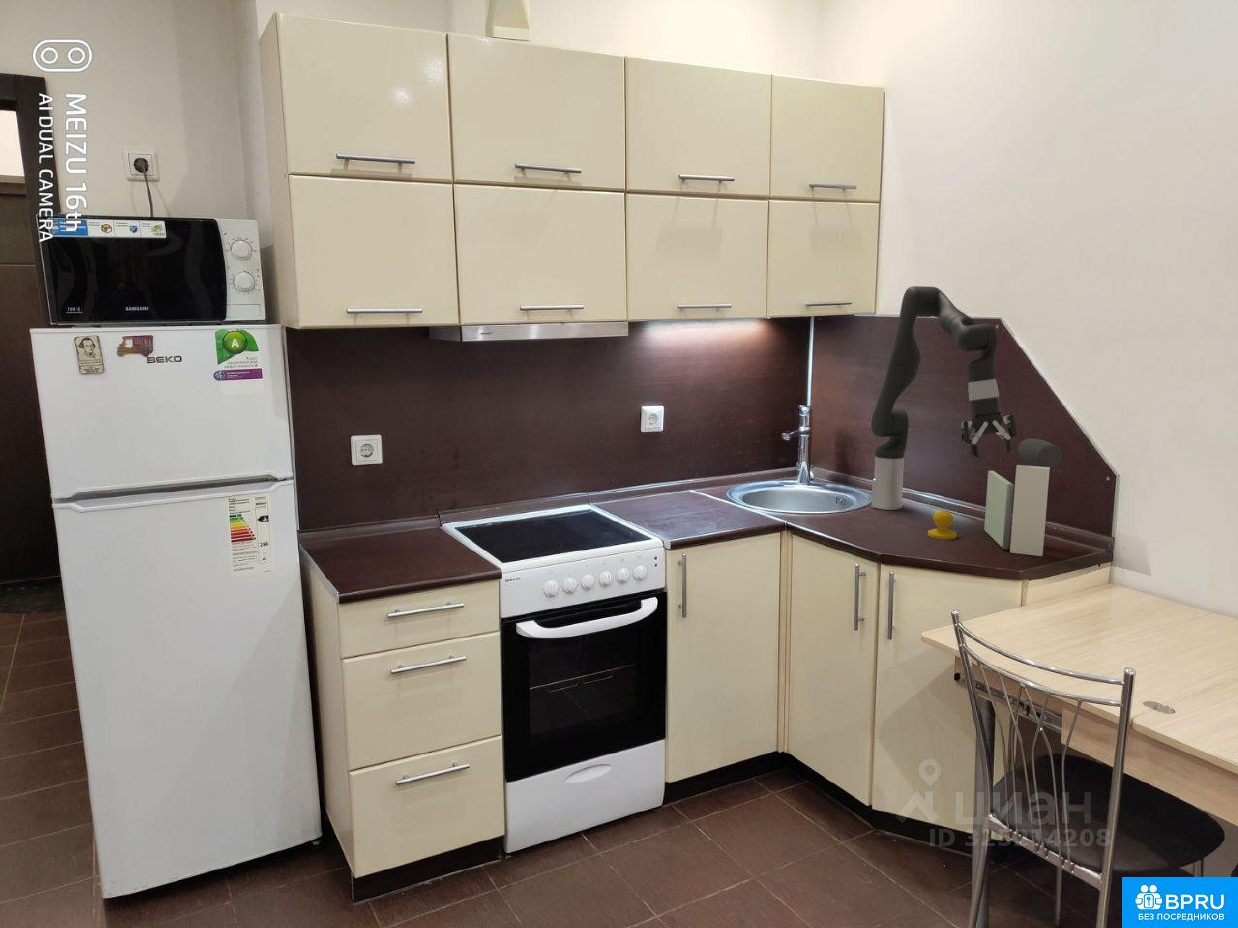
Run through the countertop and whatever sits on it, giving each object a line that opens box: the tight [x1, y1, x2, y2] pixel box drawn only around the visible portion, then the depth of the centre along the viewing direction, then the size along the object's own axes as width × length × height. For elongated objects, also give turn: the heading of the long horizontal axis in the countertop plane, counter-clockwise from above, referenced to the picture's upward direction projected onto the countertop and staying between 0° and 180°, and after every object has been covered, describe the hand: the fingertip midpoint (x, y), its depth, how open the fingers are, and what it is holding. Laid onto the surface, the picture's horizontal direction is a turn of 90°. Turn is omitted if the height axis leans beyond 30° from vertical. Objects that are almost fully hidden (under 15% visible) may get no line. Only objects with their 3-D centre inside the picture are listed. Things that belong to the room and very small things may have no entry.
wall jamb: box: [1009, 464, 1051, 557], centre depth 240 cm, size 8×3×24 cm, turn 62°
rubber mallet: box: [1017, 437, 1063, 470], centre depth 248 cm, size 12×8×30 cm, turn 3°
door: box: [983, 470, 1015, 550], centre depth 252 cm, size 21×2×18 cm, turn 172°
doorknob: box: [927, 510, 958, 541], centre depth 260 cm, size 8×8×8 cm
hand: (991, 455), depth 243 cm, fingers open, 8 cm apart
